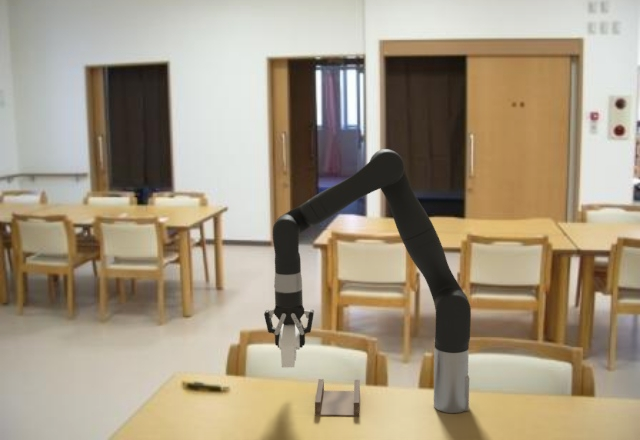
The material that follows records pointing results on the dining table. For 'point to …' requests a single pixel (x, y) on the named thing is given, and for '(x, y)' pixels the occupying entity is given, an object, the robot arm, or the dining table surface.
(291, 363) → the shelf bracket
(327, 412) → the walnut channel
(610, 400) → the dining table surface
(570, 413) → the dining table surface
